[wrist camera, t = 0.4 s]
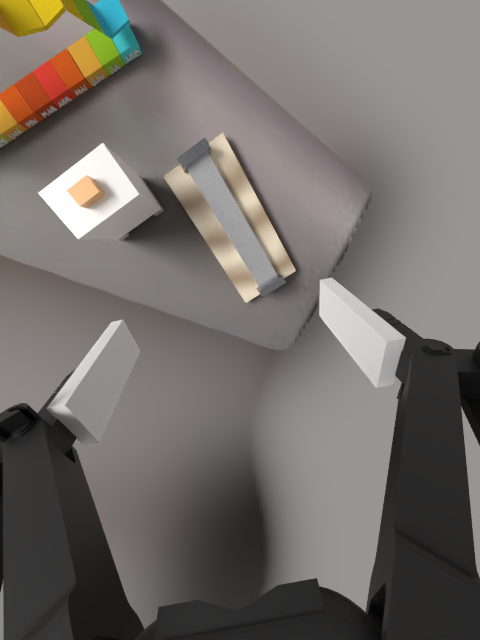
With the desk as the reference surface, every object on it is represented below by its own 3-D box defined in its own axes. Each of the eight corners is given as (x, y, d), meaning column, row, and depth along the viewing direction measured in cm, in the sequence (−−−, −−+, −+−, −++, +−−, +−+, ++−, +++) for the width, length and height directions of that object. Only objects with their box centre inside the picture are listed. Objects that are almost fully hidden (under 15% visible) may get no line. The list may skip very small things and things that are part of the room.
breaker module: (98, 210, 33) (28, 190, 20) (141, 177, 32) (96, 137, 20) (122, 240, 35) (71, 239, 22) (164, 210, 34) (135, 191, 21)
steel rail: (179, 164, 31) (176, 158, 29) (205, 145, 30) (205, 137, 28) (259, 294, 38) (262, 297, 36) (281, 279, 38) (286, 282, 35)
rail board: (165, 179, 32) (163, 176, 31) (222, 137, 32) (222, 132, 30) (244, 300, 40) (246, 303, 38) (293, 269, 39) (296, 270, 37)
